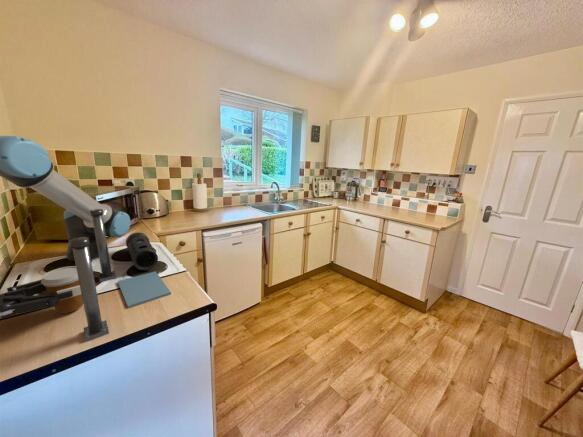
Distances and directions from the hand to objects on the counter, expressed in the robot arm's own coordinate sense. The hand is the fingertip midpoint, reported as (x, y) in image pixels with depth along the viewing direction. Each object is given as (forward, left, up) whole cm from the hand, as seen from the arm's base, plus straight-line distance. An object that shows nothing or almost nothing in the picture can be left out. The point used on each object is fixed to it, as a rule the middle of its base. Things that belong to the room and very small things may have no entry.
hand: (86, 282), depth 76 cm
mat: (0, +15, -8) cm, 17 cm away
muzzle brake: (-27, +20, -8) cm, 35 cm away
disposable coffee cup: (0, -5, -7) cm, 9 cm away
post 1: (+17, 0, -8) cm, 19 cm away
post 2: (-17, +6, -8) cm, 20 cm away
